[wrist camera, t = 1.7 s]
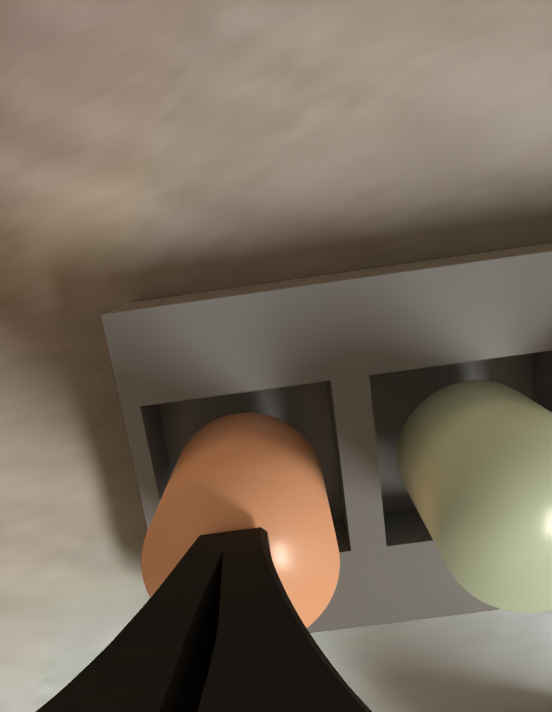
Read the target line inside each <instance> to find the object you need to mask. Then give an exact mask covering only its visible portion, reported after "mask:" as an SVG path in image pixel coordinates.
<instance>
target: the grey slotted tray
mask: <svg viewBox="0 0 552 712" xmlns="http://www.w3.org/2000/svg"><path fill="white" fill-rule="evenodd" d="M101 319H102V324H103V328H104V333H105V337H106V342H107V347H108V351H109V356H110V360H111V365H112V369H113V374H114V379H115V383H116V388H117V392H118V397H119V401H120V406H121V411H122V415H123V420H124V424H125V429H126V433H127V438H128V443H129V447H130V452H131V456H132V461H133V465H134V470H135V475H136V479H137V484H138V488H139V493H140V497H141V502H142V507H143V511H144V516H145V520H146V525H147V529H148V528H149V526H150V524H151V521H152V519H153V517H154V514H155V512H156V510H157V507H158V505H159V503H160V500H161V498H162V496H163V493H164V491H165V489H166V486H167V484H168V482H169V479H170V477H171V475H172V472H173V470H174V468H175V465H176V463H177V461H178V458H179V456H180V454H181V452H182V450H183V448H184V446H185V445H186V443H187V442H188V441H189V439H190V438H191V437H192V436H193V435H194V434H195V433H196V432H197V431H198V430H199V429H201V428H202V427H203V426H205V425H206V424H208V423H209V422H212V421H214V420H216V419H218V418H220V417H223V416H226V415H231V414H236V413H246V412H249V413H260V414H266V415H270V416H273V417H276V418H278V419H281V420H283V421H285V422H287V423H288V424H290V425H292V426H293V427H295V428H296V429H297V430H298V431H300V432H301V433H302V434H303V435H304V436H305V437H306V438H307V440H308V441H309V442H310V444H311V445H312V446H313V448H314V450H315V452H316V454H317V456H318V459H319V461H320V464H321V469H322V474H323V478H324V483H325V488H326V492H327V497H328V502H329V506H330V511H331V516H332V520H333V525H334V530H335V534H336V539H337V544H338V549H339V555H340V570H339V578H338V582H337V586H336V589H335V591H334V594H333V596H332V598H331V600H330V602H329V604H328V605H327V607H326V608H325V610H324V611H323V612H322V614H321V615H320V616H319V617H318V618H317V619H316V620H315V621H314V622H313V623H312V624H311V625H310V626H309V627H307V630H308V631H309V633H313V632H321V631H329V630H337V629H345V628H353V627H361V626H369V625H377V624H385V623H393V622H401V621H409V620H417V619H426V618H434V617H442V616H450V615H458V614H466V613H474V612H482V611H490V610H498V609H500V608H496V607H493V606H491V605H488V604H486V603H484V602H482V601H480V600H479V599H477V598H475V597H474V596H472V595H471V594H470V593H468V592H467V591H466V590H465V589H464V588H463V587H462V586H461V585H460V584H459V583H458V582H457V581H456V579H455V578H454V577H453V575H452V574H451V572H450V571H449V569H448V567H447V565H446V563H445V561H444V559H443V557H442V556H441V554H440V552H439V550H438V548H437V546H436V544H435V542H434V541H433V539H432V537H431V535H430V533H429V531H428V529H427V527H426V526H425V524H424V522H423V520H422V518H421V516H420V514H419V513H418V511H417V509H416V507H415V505H414V503H413V501H412V499H411V498H410V496H409V494H408V492H407V490H406V488H405V486H404V484H403V482H402V480H401V477H400V474H399V471H398V465H397V446H398V441H399V437H400V434H401V431H402V429H403V426H404V424H405V423H406V421H407V419H408V417H409V416H410V415H411V413H412V412H413V411H414V409H415V408H416V407H417V406H418V405H419V404H420V403H421V402H422V401H423V400H425V399H426V398H427V397H428V396H430V395H431V394H433V393H435V392H436V391H438V390H440V389H442V388H444V387H446V386H448V385H452V384H455V383H458V382H463V381H469V380H488V381H493V382H498V383H501V384H504V385H507V386H509V387H511V388H513V389H515V390H517V391H518V392H520V393H522V394H523V395H525V396H526V397H528V398H530V399H531V400H533V401H534V402H536V403H538V404H539V405H541V406H542V407H544V408H546V409H547V410H549V411H551V412H552V243H546V244H539V245H532V246H524V247H517V248H510V249H503V250H496V251H489V252H482V253H475V254H468V255H461V256H454V257H447V258H440V259H432V260H425V261H418V262H411V263H404V264H397V265H390V266H383V267H376V268H369V269H362V270H355V271H348V272H340V273H333V274H326V275H319V276H312V277H305V278H298V279H291V280H284V281H277V282H270V283H263V284H256V285H248V286H241V287H234V288H227V289H220V290H213V291H206V292H199V293H192V294H185V295H178V296H171V297H164V298H156V299H149V300H142V301H135V302H128V303H126V304H124V305H121V306H119V307H117V308H115V309H112V310H110V311H108V312H106V313H103V314H101Z"/></svg>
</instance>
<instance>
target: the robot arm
mask: <svg viewBox="0 0 552 712" xmlns="http://www.w3.org/2000/svg"><path fill="white" fill-rule="evenodd" d="M36 712H372V711H371V710H370V709H369V708H368V707H367V706H366V705H365V704H364V703H363V701H362V700H361V699H360V698H359V697H358V696H357V695H356V694H355V693H354V691H353V690H352V689H351V688H350V687H349V686H348V685H347V683H346V682H345V681H344V680H343V678H342V677H341V676H340V675H339V673H338V672H337V671H336V669H335V668H334V667H333V666H332V664H331V663H330V662H329V660H328V659H327V658H326V656H325V655H324V653H323V652H322V651H321V649H320V648H319V646H318V645H317V644H316V642H315V641H314V639H313V638H312V636H311V635H310V633H309V631H308V630H307V628H306V627H305V625H304V623H303V622H302V620H301V618H300V617H299V615H298V613H297V611H296V610H295V608H294V606H293V604H292V603H291V601H290V599H289V597H288V595H287V593H286V591H285V589H284V587H283V584H282V582H281V580H280V578H279V576H278V574H277V571H276V569H275V566H274V564H273V561H272V557H271V551H270V544H269V538H268V532H267V531H266V530H264V529H263V528H262V527H258V528H250V529H243V530H235V531H227V532H220V533H212V534H204V535H200V536H199V537H198V538H197V539H196V541H195V542H194V543H193V544H192V546H191V547H190V548H189V549H188V551H187V552H186V553H185V555H184V556H183V557H182V559H181V560H180V561H179V562H178V564H177V565H176V566H175V568H174V569H173V570H172V572H171V573H170V574H169V575H168V577H167V578H166V579H165V581H164V582H163V583H162V584H161V585H160V587H159V588H158V589H157V590H156V592H155V593H154V594H153V595H152V597H151V598H150V599H149V600H148V602H147V603H146V604H145V605H144V606H143V608H142V609H141V610H140V611H139V612H138V613H137V614H136V615H135V616H134V618H133V619H132V620H131V621H130V622H129V623H128V624H127V625H126V626H125V628H124V629H123V630H122V631H121V632H120V633H119V634H118V635H117V637H116V638H115V639H114V640H113V641H112V642H111V643H110V644H109V645H108V646H107V647H106V648H105V649H104V650H103V651H102V652H101V653H100V654H99V655H98V656H97V657H96V658H95V659H94V660H93V661H92V662H91V663H90V664H89V665H88V666H87V667H86V668H85V669H84V670H83V671H82V672H81V673H79V674H78V675H77V676H76V677H75V678H74V679H73V680H72V681H71V682H70V683H69V684H68V685H67V686H66V687H64V688H63V689H62V690H61V691H60V692H59V693H58V694H57V695H55V696H54V697H53V698H52V699H51V700H50V701H48V702H47V703H46V704H45V705H43V706H42V707H41V708H40V709H39V710H37V711H36Z"/></svg>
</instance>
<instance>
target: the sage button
mask: <svg viewBox="0 0 552 712" xmlns="http://www.w3.org/2000/svg"><path fill="white" fill-rule="evenodd" d="M397 465H398V471H399V474H400V477H401V480H402V482H403V484H404V486H405V488H406V490H407V492H408V494H409V496H410V498H411V499H412V501H413V503H414V505H415V507H416V509H417V511H418V513H419V514H420V516H421V518H422V520H423V522H424V524H425V526H426V527H427V529H428V531H429V533H430V535H431V537H432V539H433V541H434V542H435V544H436V546H437V548H438V550H439V552H440V554H441V556H442V557H443V559H444V561H445V563H446V565H447V567H448V569H449V571H450V572H451V574H452V575H453V577H454V578H455V579H456V581H457V582H458V583H459V584H460V585H461V586H462V587H463V588H464V589H465V590H466V591H467V592H468V593H470V594H471V595H472V596H474V597H475V598H477V599H479V600H480V601H482V602H484V603H486V604H488V605H491V606H493V607H496V608H500V609H503V610H507V611H513V612H525V613H533V612H545V611H550V610H552V412H551V411H549V410H547V409H546V408H544V407H542V406H541V405H539V404H538V403H536V402H534V401H533V400H531V399H530V398H528V397H526V396H525V395H523V394H522V393H520V392H518V391H517V390H515V389H513V388H511V387H509V386H507V385H504V384H501V383H498V382H493V381H488V380H469V381H463V382H458V383H455V384H452V385H448V386H446V387H444V388H442V389H440V390H438V391H436V392H435V393H433V394H431V395H430V396H428V397H427V398H426V399H425V400H423V401H422V402H421V403H420V404H419V405H418V406H417V407H416V408H415V409H414V411H413V412H412V413H411V415H410V416H409V417H408V419H407V421H406V423H405V424H404V426H403V429H402V431H401V434H400V437H399V441H398V446H397Z"/></svg>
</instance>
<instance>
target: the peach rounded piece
mask: <svg viewBox="0 0 552 712" xmlns="http://www.w3.org/2000/svg"><path fill="white" fill-rule="evenodd" d="M258 527H262V528H263V529H264V530H266V531H267V532H268V538H269V544H270V551H271V557H272V561H273V564H274V566H275V569H276V571H277V574H278V576H279V578H280V580H281V582H282V584H283V587H284V589H285V591H286V593H287V595H288V597H289V599H290V601H291V603H292V604H293V606H294V608H295V610H296V611H297V613H298V615H299V617H300V618H301V620H302V622H303V623H304V625H305V627H306V628H307V627H309V626H310V625H311V624H312V623H313V622H314V621H315V620H316V619H317V618H318V617H319V616H320V615H321V614H322V612H323V611H324V610H325V608H326V607H327V605H328V604H329V602H330V600H331V598H332V596H333V594H334V591H335V589H336V586H337V582H338V578H339V570H340V555H339V549H338V544H337V539H336V534H335V530H334V525H333V520H332V516H331V511H330V506H329V502H328V497H327V492H326V488H325V483H324V478H323V474H322V469H321V464H320V461H319V459H318V456H317V454H316V452H315V450H314V448H313V446H312V445H311V444H310V442H309V441H308V440H307V438H306V437H305V436H304V435H303V434H302V433H301V432H300V431H298V430H297V429H296V428H295V427H293V426H292V425H290V424H288V423H287V422H285V421H283V420H281V419H278V418H276V417H273V416H270V415H266V414H260V413H249V412H246V413H236V414H231V415H226V416H223V417H220V418H218V419H216V420H214V421H212V422H209V423H208V424H206V425H205V426H203V427H202V428H201V429H199V430H198V431H197V432H196V433H195V434H194V435H193V436H192V437H191V438H190V439H189V441H188V442H187V443H186V445H185V446H184V448H183V450H182V452H181V454H180V456H179V458H178V461H177V463H176V465H175V468H174V470H173V472H172V475H171V477H170V479H169V482H168V484H167V486H166V489H165V491H164V493H163V496H162V498H161V500H160V503H159V505H158V507H157V510H156V512H155V514H154V517H153V519H152V521H151V524H150V526H149V528H148V531H147V533H146V536H145V540H144V543H143V549H142V555H141V567H142V574H143V580H144V583H145V586H146V589H147V592H148V594H149V596H150V598H151V597H152V595H153V594H154V593H155V592H156V590H157V589H158V588H159V587H160V585H161V584H162V583H163V582H164V581H165V579H166V578H167V577H168V575H169V574H170V573H171V572H172V570H173V569H174V568H175V566H176V565H177V564H178V562H179V561H180V560H181V559H182V557H183V556H184V555H185V553H186V552H187V551H188V549H189V548H190V547H191V546H192V544H193V543H194V542H195V541H196V539H197V538H198V537H199V536H200V535H204V534H212V533H220V532H227V531H235V530H243V529H250V528H258Z"/></svg>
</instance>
